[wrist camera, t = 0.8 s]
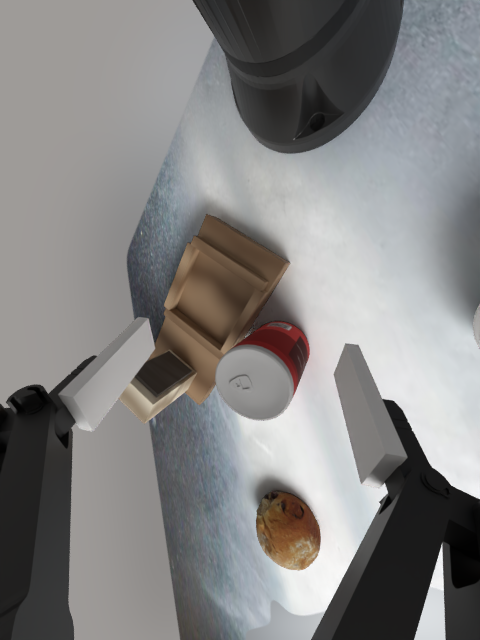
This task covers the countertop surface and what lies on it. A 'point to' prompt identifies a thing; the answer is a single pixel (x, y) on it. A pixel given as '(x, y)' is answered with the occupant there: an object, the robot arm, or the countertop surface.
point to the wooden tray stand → (204, 316)
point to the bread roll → (287, 530)
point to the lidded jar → (477, 326)
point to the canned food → (263, 371)
